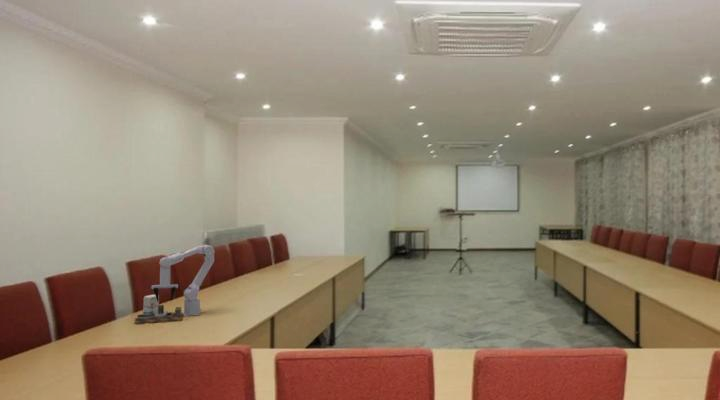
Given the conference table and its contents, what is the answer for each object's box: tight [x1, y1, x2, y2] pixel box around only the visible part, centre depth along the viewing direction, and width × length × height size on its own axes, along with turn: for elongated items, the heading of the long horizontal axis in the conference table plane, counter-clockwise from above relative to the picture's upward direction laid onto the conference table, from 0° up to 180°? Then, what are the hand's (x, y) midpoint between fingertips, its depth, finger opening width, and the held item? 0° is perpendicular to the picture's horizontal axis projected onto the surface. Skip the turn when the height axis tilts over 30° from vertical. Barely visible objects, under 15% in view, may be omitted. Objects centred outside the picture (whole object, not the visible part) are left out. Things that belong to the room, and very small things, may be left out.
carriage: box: [155, 304, 169, 317], centre depth 266 cm, size 7×7×7 cm
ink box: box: [142, 294, 160, 314], centre depth 278 cm, size 9×5×12 cm, turn 168°
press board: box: [134, 306, 184, 325], centre depth 265 cm, size 25×13×6 cm, turn 108°
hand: (164, 300), depth 271 cm, fingers open, 7 cm apart
